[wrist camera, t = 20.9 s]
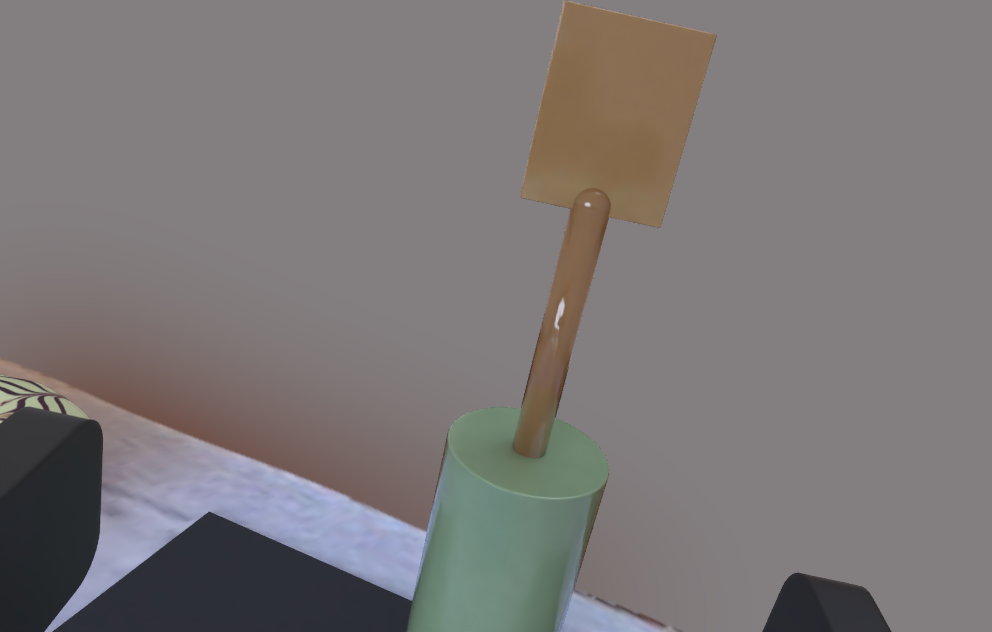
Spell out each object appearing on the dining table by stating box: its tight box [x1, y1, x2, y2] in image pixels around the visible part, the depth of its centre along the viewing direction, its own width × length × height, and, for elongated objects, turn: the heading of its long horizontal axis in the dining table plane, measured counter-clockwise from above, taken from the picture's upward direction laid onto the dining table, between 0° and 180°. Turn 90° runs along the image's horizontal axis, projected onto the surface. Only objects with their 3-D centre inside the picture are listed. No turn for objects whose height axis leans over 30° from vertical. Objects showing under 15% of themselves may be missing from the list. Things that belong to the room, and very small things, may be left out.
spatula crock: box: [406, 0, 717, 632], centre depth 25 cm, size 5×5×24 cm
